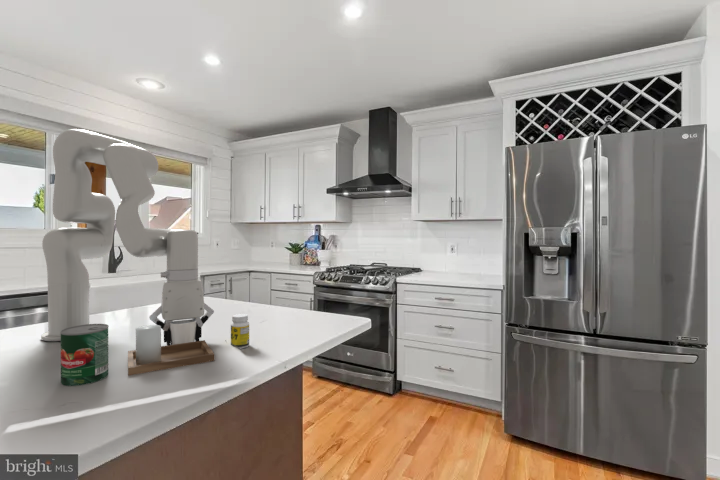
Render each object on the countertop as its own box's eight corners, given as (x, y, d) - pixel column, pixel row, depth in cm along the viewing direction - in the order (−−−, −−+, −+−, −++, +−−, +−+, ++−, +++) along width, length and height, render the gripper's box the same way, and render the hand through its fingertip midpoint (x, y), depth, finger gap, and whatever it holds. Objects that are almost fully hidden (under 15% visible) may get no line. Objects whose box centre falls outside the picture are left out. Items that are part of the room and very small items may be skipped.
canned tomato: (54, 392, 70) (53, 335, 70) (67, 377, 78) (67, 325, 77) (104, 386, 74) (103, 331, 73) (112, 372, 81) (112, 322, 81)
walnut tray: (128, 360, 88) (127, 351, 88) (204, 348, 97) (204, 340, 97) (128, 379, 77) (128, 368, 77) (214, 364, 86) (214, 354, 86)
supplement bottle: (227, 346, 99) (227, 315, 99) (243, 342, 103) (243, 312, 103) (236, 350, 96) (236, 318, 96) (252, 346, 100) (252, 315, 99)
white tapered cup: (185, 351, 95) (185, 324, 95) (162, 349, 97) (162, 322, 96) (202, 343, 102) (202, 318, 102) (180, 341, 103) (180, 316, 103)
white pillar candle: (135, 361, 85) (135, 326, 85) (160, 357, 88) (160, 323, 88) (136, 367, 81) (135, 331, 81) (161, 363, 84) (161, 328, 84)
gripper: (145, 279, 91) (146, 351, 92) (219, 275, 100) (219, 341, 101) (144, 276, 98) (145, 344, 98) (214, 272, 107) (214, 334, 107)
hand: (183, 342), depth 99 cm, fingers closed on white tapered cup, 6 cm apart
